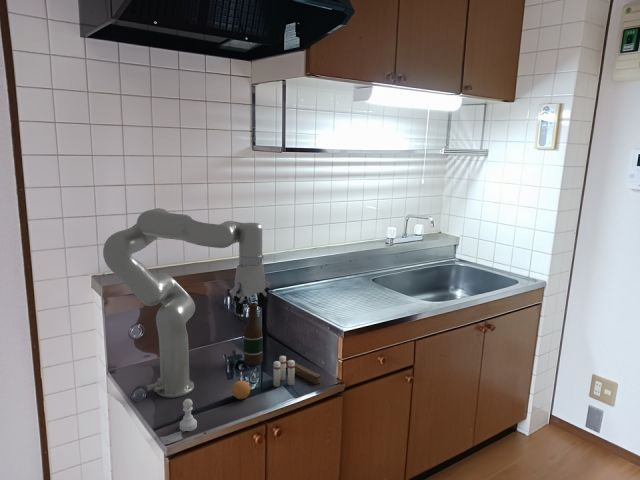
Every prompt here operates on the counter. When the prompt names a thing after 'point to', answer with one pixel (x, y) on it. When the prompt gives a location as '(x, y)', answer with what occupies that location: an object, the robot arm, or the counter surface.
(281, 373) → the pin
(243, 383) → the ball
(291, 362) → the pin
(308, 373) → the back rail
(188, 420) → the chess pawn
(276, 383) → the front pin
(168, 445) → the counter surface
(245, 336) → the beer bottle
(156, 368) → the counter surface
